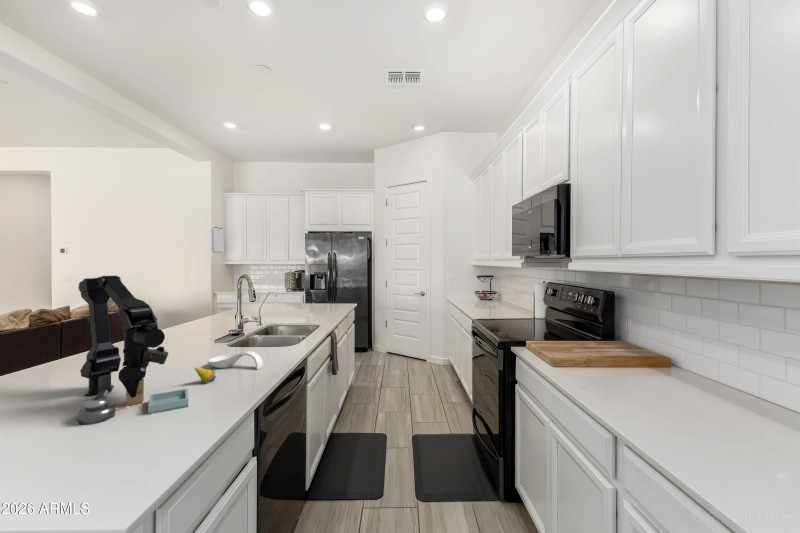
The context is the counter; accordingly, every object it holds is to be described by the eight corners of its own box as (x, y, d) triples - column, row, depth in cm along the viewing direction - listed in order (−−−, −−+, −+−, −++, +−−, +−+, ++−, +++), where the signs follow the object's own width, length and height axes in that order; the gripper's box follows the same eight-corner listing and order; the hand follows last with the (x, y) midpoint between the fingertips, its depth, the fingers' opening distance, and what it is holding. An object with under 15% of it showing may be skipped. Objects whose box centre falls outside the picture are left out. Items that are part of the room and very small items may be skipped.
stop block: (127, 402, 104) (128, 380, 104) (143, 399, 106) (143, 378, 106) (126, 407, 101) (126, 384, 101) (142, 404, 103) (142, 382, 103)
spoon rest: (201, 370, 137) (201, 353, 137) (220, 361, 148) (220, 346, 148) (253, 373, 134) (253, 356, 134) (268, 364, 146) (268, 348, 145)
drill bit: (217, 384, 122) (196, 371, 116) (206, 389, 123) (185, 376, 117) (222, 372, 126) (202, 358, 120) (211, 376, 127) (191, 363, 121)
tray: (150, 402, 104) (150, 394, 104) (187, 395, 110) (187, 388, 110) (148, 414, 96) (148, 406, 96) (188, 406, 102) (188, 398, 102)
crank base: (81, 414, 95) (82, 404, 95) (126, 406, 101) (126, 397, 101) (73, 427, 88) (73, 416, 88) (121, 418, 93) (122, 408, 93)
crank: (106, 408, 93) (107, 389, 93) (82, 412, 90) (83, 393, 90) (115, 389, 106) (115, 373, 106) (95, 392, 103) (95, 376, 103)
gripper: (165, 346, 100) (165, 397, 100) (167, 335, 116) (166, 378, 116) (118, 351, 94) (117, 405, 94) (126, 339, 109) (126, 384, 110)
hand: (135, 392), depth 104 cm, fingers open, 9 cm apart
